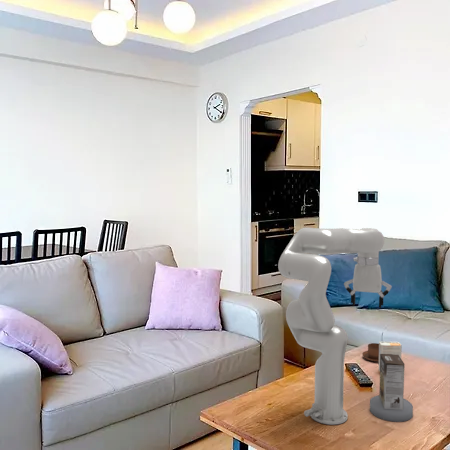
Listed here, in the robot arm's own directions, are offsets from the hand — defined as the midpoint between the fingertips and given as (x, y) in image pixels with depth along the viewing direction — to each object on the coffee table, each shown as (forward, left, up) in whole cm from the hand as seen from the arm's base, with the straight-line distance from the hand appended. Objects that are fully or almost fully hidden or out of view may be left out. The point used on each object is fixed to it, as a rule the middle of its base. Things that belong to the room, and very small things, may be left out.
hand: (366, 306), depth 185 cm
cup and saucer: (+29, +18, -33) cm, 48 cm away
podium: (-8, -18, -32) cm, 38 cm away
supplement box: (+20, +4, -32) cm, 38 cm away
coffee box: (-8, -18, -30) cm, 35 cm away
